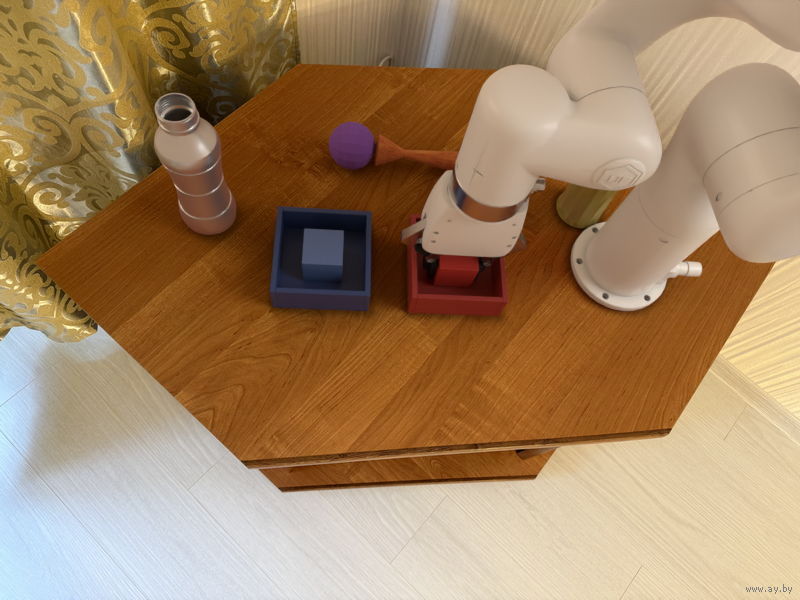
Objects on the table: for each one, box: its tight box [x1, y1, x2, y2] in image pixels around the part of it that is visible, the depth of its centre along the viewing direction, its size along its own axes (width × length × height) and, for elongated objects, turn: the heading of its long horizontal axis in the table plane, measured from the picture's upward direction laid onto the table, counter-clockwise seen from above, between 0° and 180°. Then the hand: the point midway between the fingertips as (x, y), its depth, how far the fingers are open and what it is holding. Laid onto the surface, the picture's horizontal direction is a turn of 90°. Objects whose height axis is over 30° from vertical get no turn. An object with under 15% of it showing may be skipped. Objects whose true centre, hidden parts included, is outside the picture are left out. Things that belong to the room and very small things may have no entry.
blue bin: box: [269, 205, 373, 312], centre depth 71 cm, size 11×11×4 cm
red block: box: [433, 254, 479, 287], centre depth 72 cm, size 5×5×5 cm
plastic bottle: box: [153, 92, 238, 236], centre depth 65 cm, size 6×7×20 cm
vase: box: [555, 183, 619, 230], centre depth 74 cm, size 6×6×14 cm
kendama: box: [328, 121, 459, 171], centre depth 78 cm, size 6×6×20 cm
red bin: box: [406, 213, 509, 317], centre depth 73 cm, size 11×11×4 cm
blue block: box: [302, 229, 344, 282], centre depth 70 cm, size 5×5×5 cm
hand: (451, 268), depth 73 cm, fingers closed on red block, 4 cm apart
